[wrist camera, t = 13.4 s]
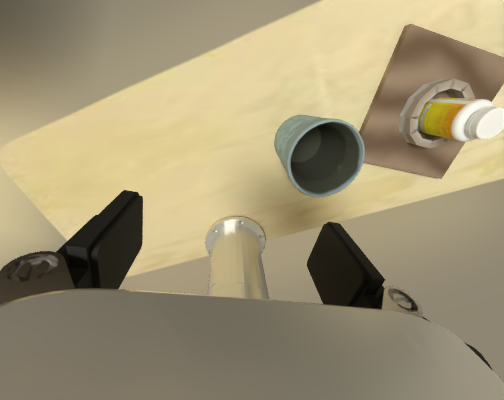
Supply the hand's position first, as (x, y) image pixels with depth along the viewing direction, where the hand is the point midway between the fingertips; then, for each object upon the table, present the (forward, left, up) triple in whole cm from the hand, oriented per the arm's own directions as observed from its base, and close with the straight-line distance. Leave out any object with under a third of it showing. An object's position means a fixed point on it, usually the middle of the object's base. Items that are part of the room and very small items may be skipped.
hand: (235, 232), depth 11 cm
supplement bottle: (+10, -32, -27) cm, 43 cm away
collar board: (+10, -32, -28) cm, 44 cm away
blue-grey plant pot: (+1, -12, -28) cm, 31 cm away
